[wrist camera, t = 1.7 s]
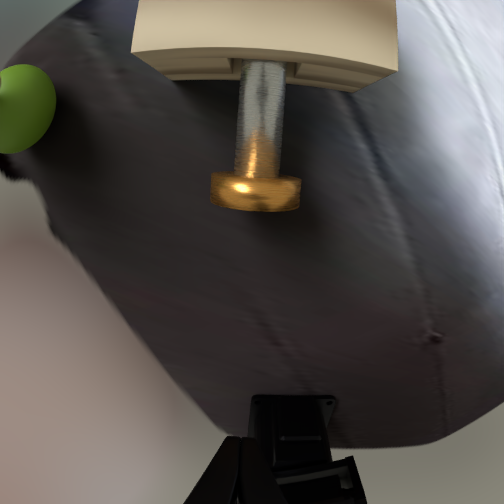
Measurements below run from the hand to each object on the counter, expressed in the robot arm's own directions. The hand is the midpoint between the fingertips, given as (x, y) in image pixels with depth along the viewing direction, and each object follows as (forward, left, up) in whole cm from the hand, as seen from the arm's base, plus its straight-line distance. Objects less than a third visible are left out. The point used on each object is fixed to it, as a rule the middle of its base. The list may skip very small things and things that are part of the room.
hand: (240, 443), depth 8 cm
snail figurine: (+11, +14, -12) cm, 21 cm away
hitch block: (+15, 0, -12) cm, 19 cm away
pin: (+12, 0, -10) cm, 16 cm away
